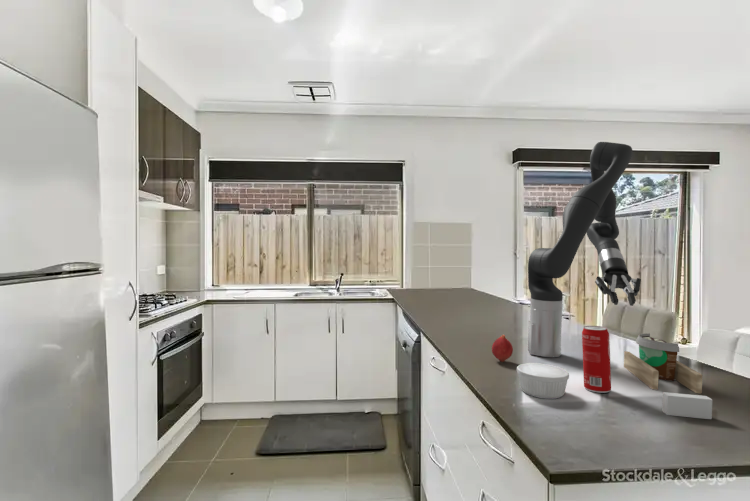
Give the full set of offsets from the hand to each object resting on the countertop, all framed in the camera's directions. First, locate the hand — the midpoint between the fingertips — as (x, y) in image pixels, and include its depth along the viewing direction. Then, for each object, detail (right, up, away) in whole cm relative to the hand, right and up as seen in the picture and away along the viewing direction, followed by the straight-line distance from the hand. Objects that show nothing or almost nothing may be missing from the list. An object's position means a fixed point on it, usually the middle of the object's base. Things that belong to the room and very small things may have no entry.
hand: (624, 303), depth 130 cm
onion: (-43, -16, -12) cm, 47 cm away
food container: (-6, -17, -21) cm, 27 cm away
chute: (-6, -17, -24) cm, 30 cm away
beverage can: (-27, -17, -33) cm, 46 cm away
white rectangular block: (-16, -17, -46) cm, 52 cm away
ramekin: (-41, -16, -35) cm, 56 cm away
